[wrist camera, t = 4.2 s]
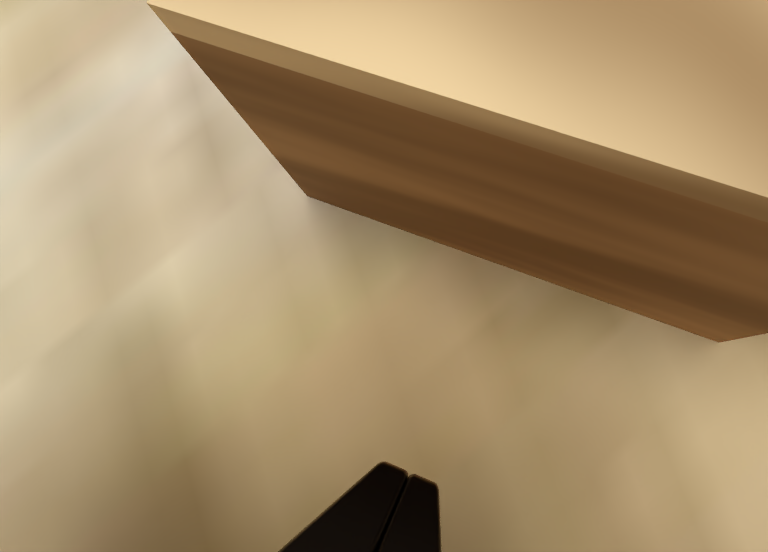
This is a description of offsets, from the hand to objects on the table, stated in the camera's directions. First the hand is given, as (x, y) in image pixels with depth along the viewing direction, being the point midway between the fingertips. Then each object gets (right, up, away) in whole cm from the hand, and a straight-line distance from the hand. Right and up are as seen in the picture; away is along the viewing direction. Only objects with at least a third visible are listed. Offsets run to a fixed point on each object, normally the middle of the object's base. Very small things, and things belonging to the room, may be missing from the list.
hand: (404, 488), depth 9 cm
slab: (+4, +5, +10) cm, 11 cm away
